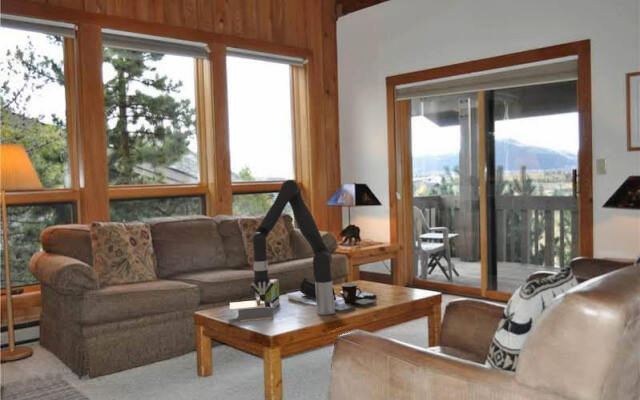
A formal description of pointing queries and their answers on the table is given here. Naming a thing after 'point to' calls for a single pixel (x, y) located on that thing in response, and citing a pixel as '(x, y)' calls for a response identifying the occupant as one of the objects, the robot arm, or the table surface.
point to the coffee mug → (350, 292)
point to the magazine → (310, 289)
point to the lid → (247, 304)
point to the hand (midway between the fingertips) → (262, 300)
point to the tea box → (271, 293)
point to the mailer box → (257, 313)
